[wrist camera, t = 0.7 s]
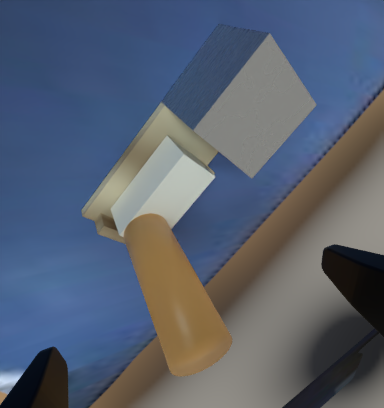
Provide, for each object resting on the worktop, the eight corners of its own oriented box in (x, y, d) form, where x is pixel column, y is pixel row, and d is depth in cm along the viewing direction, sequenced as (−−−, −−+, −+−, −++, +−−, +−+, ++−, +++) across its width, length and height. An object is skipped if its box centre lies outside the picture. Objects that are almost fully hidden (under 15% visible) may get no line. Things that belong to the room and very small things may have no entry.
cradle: (142, 235, 26) (150, 252, 24) (81, 210, 22) (85, 229, 20) (215, 146, 24) (229, 159, 22) (161, 102, 20) (173, 112, 18)
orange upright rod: (138, 228, 24) (202, 376, 15) (105, 214, 22) (155, 376, 13) (196, 157, 22) (308, 273, 13) (166, 135, 20) (274, 253, 11)
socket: (215, 146, 24) (251, 178, 20) (161, 102, 20) (192, 130, 16) (265, 84, 22) (316, 104, 18) (218, 24, 19) (269, 33, 15)
